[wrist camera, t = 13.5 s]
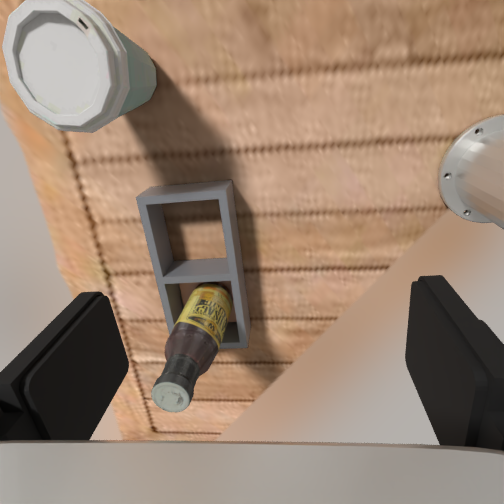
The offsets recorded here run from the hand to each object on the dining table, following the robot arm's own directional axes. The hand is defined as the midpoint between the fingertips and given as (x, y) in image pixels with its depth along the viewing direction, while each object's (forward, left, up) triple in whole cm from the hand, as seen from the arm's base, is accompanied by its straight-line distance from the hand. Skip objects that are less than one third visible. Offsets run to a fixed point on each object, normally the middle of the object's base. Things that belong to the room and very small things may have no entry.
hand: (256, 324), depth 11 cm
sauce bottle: (+12, +20, -36) cm, 43 cm away
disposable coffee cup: (+17, -10, -36) cm, 41 cm away
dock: (+12, +15, -36) cm, 41 cm away
